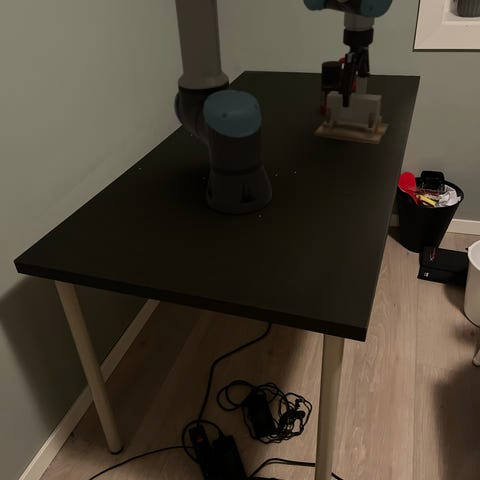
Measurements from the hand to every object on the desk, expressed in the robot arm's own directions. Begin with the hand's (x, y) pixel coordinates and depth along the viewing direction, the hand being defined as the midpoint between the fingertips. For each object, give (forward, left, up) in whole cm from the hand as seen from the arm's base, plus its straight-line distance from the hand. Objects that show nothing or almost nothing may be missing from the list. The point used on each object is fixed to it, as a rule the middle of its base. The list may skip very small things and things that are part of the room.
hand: (353, 109), depth 133 cm
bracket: (+34, +14, -7) cm, 37 cm away
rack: (0, 0, -7) cm, 7 cm away
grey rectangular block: (0, 0, -3) cm, 3 cm away
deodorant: (+12, +11, -7) cm, 17 cm away
